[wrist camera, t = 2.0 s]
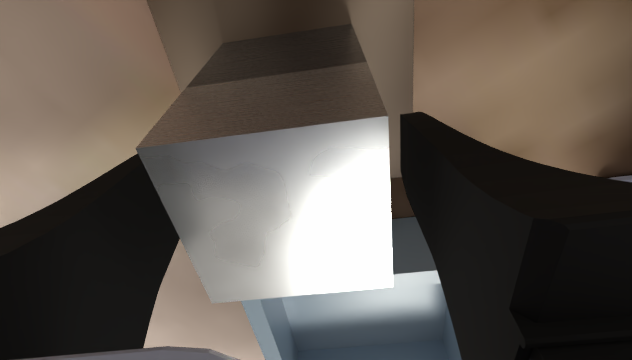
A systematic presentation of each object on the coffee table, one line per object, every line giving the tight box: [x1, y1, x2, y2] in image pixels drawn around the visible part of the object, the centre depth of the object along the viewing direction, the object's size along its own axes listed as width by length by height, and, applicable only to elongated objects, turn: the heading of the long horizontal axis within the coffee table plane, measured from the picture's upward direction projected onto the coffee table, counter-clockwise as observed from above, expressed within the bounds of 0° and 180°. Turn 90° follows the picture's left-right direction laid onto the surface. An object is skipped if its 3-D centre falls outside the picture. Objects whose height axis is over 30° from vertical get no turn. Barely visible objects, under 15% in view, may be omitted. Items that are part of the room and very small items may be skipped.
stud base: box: [147, 0, 414, 178], centre depth 14 cm, size 10×10×5 cm
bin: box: [241, 217, 462, 360], centre depth 23 cm, size 13×13×4 cm
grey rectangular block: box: [136, 24, 393, 303], centre depth 12 cm, size 5×5×8 cm
